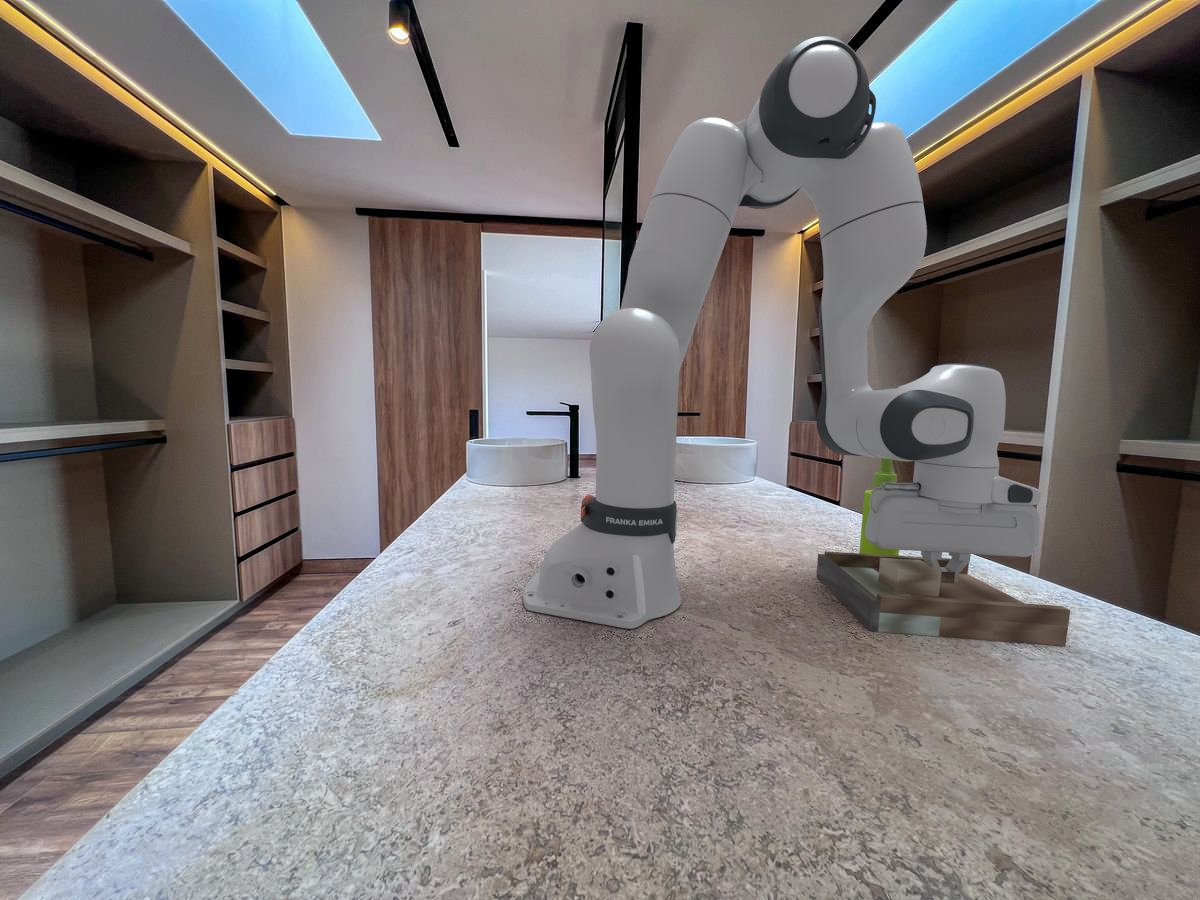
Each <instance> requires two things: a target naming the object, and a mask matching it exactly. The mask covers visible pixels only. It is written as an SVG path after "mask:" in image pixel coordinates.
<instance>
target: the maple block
mask: <svg viewBox="0 0 1200 900" xmlns="http://www.w3.org/2000/svg"><path fill="white" fill-rule="evenodd" d="M878 581H879V582H881V583H882V584H883V585H885V586H886V587H887V588H889V589H890V590H891V591H893V592H894V593H895V594H906V595H921V596H936V597H939V591H940V582H941V571H939V570H937V569H936V568H934V567H932V566H930V565H928V564H926V563H925V562H923V561H921V560H910V559H893V558H880V566H879V577H878Z"/></svg>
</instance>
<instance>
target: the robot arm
mask: <svg viewBox="0 0 1200 900" xmlns="http://www.w3.org/2000/svg"><path fill="white" fill-rule="evenodd" d="M870 105H871V108H870ZM870 109H871V111H870ZM876 109H877V99H876V94H874V92H873V91H872V90H871V89H870V83H869V77H868V73H867V71H866V69H865V66H864V64H863V62H862V60H861V59H860V56H859V55H858V54H857V53H856V51H855V50H854V49H853V48H852V47H851V46H850V45H849V44H847V43H846V42H844V41H843V40H841V39H839V38H837V37H833V36H827V35H824V36H823V35H822V36H816V37H811V38H809V39H806V40H803V41H802V42H801V43H799V44H798V45H796V46H794V48H792V49H791V50H790V51H789V52H788V53H787V54H786V55H785V56H784V57H783V58H782V59H781V60H780V61H779V63H778V64H777V65H776V66H775V68H773V70H772V72H771V73H770V74H769V75H768V77H767V80H766V81H765V83H764V85H763V88H762V90H761V93H760V96H759V97H758V98H757V100H756V103H754V105H753V108H752V110H751V112H750V114H749V115H748V117H747V118H746V119H742V120H741V121H738V122H731V121H730V120H727V119H723V118H720V117H715V116H711V117H704V118H700V119H697V120H695V121H693V122H691V123H690V124H689V125H687V127H686V128H685V129H684V130H682V133H681V134H680V135H679V137H678V138H677V140H676V142H675V144H674V146H673V147H672V149H671V152H670V154H669V156H668V157H667V159H666V161H665V163H664V166H663V168H662V170H661V173H660V174H659V177H658V179H657V182H656V184H655V187H654V190H653V193H652V195H651V198H650V201H649V204H648V207H647V210H646V213H645V214H644V215H645V216H644V219H643V221H642V224H641V227H640V231H639V234H638V236H637V240H636V242H635V244H634V248H633V252H632V253H631V257H630V260H629V262H628V263H629V264H628V270H627V277H626V281H625V282H626V283H625V286H624V291H623V297H622V301H621V306H620V309H619V310H616V311H614V312H612V313H610V314H608V315H607V316H605V317H604V319H602V321H601V322H599V323H598V325H597V326H596V328H595V330H594V332H593V333H592V336H591V340H590V344H589V364H590V376H591V377H590V381H591V393H592V394H591V397H592V398H591V399H592V409H593V420H594V422H593V423H594V430H595V444H596V449H595V450H596V455H595V457H596V459H595V460H596V461H595V462H596V463H595V495H593V494H587V495H585V496H584V497H583V499H582V500H581V505H580V524H578V525H577V526H576V527H574V528H573V529H571V530H570V531H568V532H567V533H566V534H565V535H563V536H562V537H560V538H559V539H557V540H556V541H555V542H554V543H552V545H550V546H549V548H548V549H547V551H546V553H545V555H544V557H543V560H542V563H541V568H540V571H539V572H536V573H535V574H534V575H533V576H532V577H531V578H530V579H529V581H528V582H527V583H526V586H525V588H524V590H523V595H522V596H523V597H522V603H523V606H524V608H525V609H526V610H527V611H529V612H536V613H541V614H545V615H550V616H551V615H552V616H556V617H563V618H567V619H572V620H573V619H574V620H577V621H579V620H580V621H584V622H590V623H594V624H600V625H606V626H611V627H618V628H622V629H630V630H631V629H635V628H639V627H640V626H642V625H644V624H645V623H647V622H648V621H650V620H653V619H657V618H660V617H663V616H664V617H665V616H667V615H669V614H672V613H674V611H676V610H678V608H679V607H680V606H681V604H682V601H683V599H682V594H681V591H680V587H679V582H678V577H677V569H676V568H677V567H676V559H675V558H676V557H675V549H674V547H675V544H674V543H675V541H676V537H677V530H678V509H677V508H678V507H677V506H678V505H677V502H676V501H675V481H676V480H675V479H676V478H675V477H676V461H677V460H676V458H677V457H676V454H677V453H676V452H677V431H678V429H677V428H678V409H679V408H678V406H679V405H678V404H679V385H680V384H679V383H680V382H679V381H680V370H681V367H682V364H683V362H684V359H685V357H686V354H687V351H688V348H689V345H690V342H691V339H692V336H693V334H694V331H695V328H696V325H697V323H698V319H699V317H700V314H701V311H702V308H703V306H704V303H705V300H706V296H707V294H708V291H709V288H710V286H711V282H712V280H713V278H714V275H715V272H716V269H717V267H718V264H719V261H720V259H721V256H722V253H723V250H724V248H725V245H726V242H727V240H728V237H729V234H730V231H731V229H732V226H733V223H734V220H735V217H736V214H737V211H738V208H739V207H747V208H750V209H756V210H767V209H772V208H776V207H778V206H781V205H782V204H784V203H785V202H787V201H789V200H790V199H791V198H792V197H794V196H795V195H796V194H797V193H798V192H799V190H801V191H802V192H804V193H805V194H806V196H807V197H808V198H809V199H810V200H811V202H812V204H813V206H814V209H815V211H816V214H817V218H818V219H817V221H818V229H819V235H820V237H819V238H820V244H821V251H822V264H823V284H822V285H823V286H822V293H821V298H820V303H819V309H818V310H819V313H818V327H819V328H818V332H819V334H818V335H819V351H820V354H819V355H820V375H821V397H820V401H819V406H818V410H817V417H816V430H817V433H818V437H819V438H820V440H821V442H822V444H824V446H825V447H826V448H827V449H829V450H830V451H832V452H833V453H836V454H837V455H840V456H852V457H854V456H856V457H857V456H858V457H870V458H875V459H891V460H893V461H900V462H914V466H913V468H914V469H913V476H912V477H913V479H912V482H897V483H893V482H885V483H883V484H882V485H879V486H877V487H876V488H874V489H873V488H872V489H871V490H872V492H871V496H870V511H869V514H868V519H867V523H866V529H865V536H866V538H867V539H868V541H869V542H870V543H872V544H873V545H875V546H876V547H878V548H881V549H894V550H899V551H911V552H912V551H915V552H920V554H921V557H923V559H924V560H925V562H926V564H928V565H930V566H932V567H934V568H936V569H937V570H939V571H941V582H940V583H953V584H957V583H958V578H959V572H961V571H962V570H963V569H964V567H965V566H966V565H967V564H968V563H969V564H970V562H971V555H983V556H984V555H986V556H1001V557H1023V558H1028V557H1030V556H1031V555H1033V554H1034V553H1035V552H1036V551H1037V549H1038V547H1039V540H1040V535H1041V534H1040V532H1041V517H1040V513H1039V510H1038V508H1036V507H1035V505H1038V504H1039V503H1040V501H1041V498H1042V497H1041V496H1042V492H1041V490H1040V489H1038V488H1036V487H1033V486H1031V485H1027V484H1024V483H1021V482H1018V481H1016V480H1015V481H1014V480H1011V479H1009V478H1006V477H1002V476H1000V475H999V471H1000V460H999V457H998V446H999V444H1000V443H999V442H1000V441H1001V439H1002V437H1003V435H1004V432H1005V431H1004V429H1005V422H1006V406H1007V404H1006V403H1007V401H1006V400H1007V398H1006V397H1007V396H1006V387H1005V382H1004V381H1005V380H1004V379H1003V376H1002V374H1001V373H1000V371H998V370H996V369H995V368H992V367H990V366H986V365H982V364H975V363H961V362H960V363H959V362H958V363H957V362H954V363H953V362H952V363H943V364H938V365H935V366H933V367H932V368H930V370H929V372H928V373H926V374H924V375H923V376H921V377H920V378H917V379H914V380H913V381H911V382H908V383H906V384H903V385H900V386H899V385H898V386H897V388H886V389H876V390H874V389H872V387H871V385H870V384H869V380H868V377H869V376H868V374H869V373H868V342H867V341H868V339H867V338H868V331H869V327H870V324H871V321H872V320H873V318H874V316H875V314H877V312H878V311H879V309H880V308H881V307H882V306H883V305H884V304H885V303H886V302H887V300H889V299H890V298H891V297H892V296H893V295H894V294H896V292H898V291H899V290H900V289H901V288H902V287H903V286H905V284H907V282H908V281H909V280H910V279H911V277H912V276H913V275H914V274H915V273H916V271H917V269H918V268H919V266H920V264H921V263H922V261H923V259H924V257H925V252H926V246H927V237H928V236H927V235H928V229H927V227H928V225H927V220H926V219H927V218H926V213H925V207H924V199H923V192H922V186H921V182H920V177H919V172H918V169H917V166H916V162H915V159H914V156H913V152H912V150H911V147H910V144H909V142H908V139H907V138H906V134H905V132H904V130H903V129H901V128H900V126H898V125H897V124H895V123H893V122H890V121H889V122H888V121H875V122H874V120H875V115H876ZM869 112H871V113H869ZM880 488H883V489H884V490H881V489H880ZM943 553H947V554H948V556H949V557H951V558H949V559H950V561H949V562H948V564H947V565H946V567H940V566H939V563H938V561H937V559H941V558H943Z"/></svg>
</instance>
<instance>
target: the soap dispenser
mask: <svg viewBox="0 0 1200 900" xmlns="http://www.w3.org/2000/svg"><path fill="white" fill-rule="evenodd" d="M880 459H881V458H880ZM893 462H894V460H891V459H881V461H880V470H878V471H876V472H874V473H873V475H874V476H873V485H872V489H867V490H864V492H863V493H864V494H863V495H864V496H863V497H864V498H863V503H862V504H863V506H862V515H861V529H860V530H861V531H860V539H859V540H860V542H859V552H858V553H862V554H879V555H896V556H900V555H899V554H900V553H899V552H900V550H894V549H881V548H878V547H876V546H875V545H873V544H872V543H870V542H869V541H868V539H867V538H866V536H865V529H866V523H867V519H868V514H869V511H870V496H871V492H872V490H873V489H874V488H876V487H877V486H879V485H882V484H883V483H885V482H893V483H898V482H897V481H898V474H897V473H895V472H894V471H893V464H894V463H893ZM880 489H881V490H884V489H883V488H880Z"/></svg>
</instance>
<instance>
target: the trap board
mask: <svg viewBox="0 0 1200 900" xmlns="http://www.w3.org/2000/svg"><path fill="white" fill-rule="evenodd" d="M880 558H893V559H910V560H921V561H923V562H925V560H924V559H923V557H922V556H913V555H912V556H911V555H898V556H896V555H879V554H862V553H859V552H842V551H841V552H840V551H824V553H823V554H821V553H818V554H817V564H816V565H817V566H816V577H817V578H818V579H819V580H820V581H821V582H820V581H819V580H818V579H817V578H816V577H815V578H816V579H817V580H818V581H819V582H820V583H821V584H822V585H823V586H824V587H825V588H826V589H827V590H828V591H829V592H830V593H831V594H832V595H833V596H834V597H835V598H836V599H837V600H838V601H839V602H840V603H841V604H842V605H843V606H844V607H845V608H846V609H847V610H848V611H849V612H850V613H851V614H852V615H853V616H854V617H855V618H856V619H857V620H858V621H859V622H860V623H861V624H862V625H863V626H864V627H865V629H867V630H868V631H869V632H876V633H889V634H902V635H904V634H905V635H915V636H929V637H941V638H942V637H945V638H954V639H955V638H956V639H969V640H981V641H983V640H984V641H992V642H993V641H995V642H1006V643H1008V642H1009V643H1020V644H1021V643H1022V644H1034V645H1035V644H1036V645H1046V646H1047V645H1048V646H1062V647H1066V645H1067V638H1068V630H1069V624H1070V618H1071V617H1070V615H1071V609H1070V608H1067V607H1066V606H1063V605H1054V604H1053V605H1052V604H1051V605H1050V604H1036V603H1034V604H1033V603H1025V602H1023V601H1021V600H1018V599H1017V598H1014V597H1013V596H1011V595H1009V594H1007V593H1005V592H1003V591H1002V590H1000V589H997V588H996V587H993V586H992V585H990V584H988V583H986V582H984V581H981V580H980V579H978V578H976V577H974V576H972V575H971V574H969V566H970V562H969V563H968V564H967V565H966V566H965V567H964V569H963V570H962V571H961V572H959V578H958V583H957V584H953V583H940V591H939V597H936V596H921V595H906V594H895V593H894V592H893V591H891V590H890V589H889V588H887V587H886V586H885V585H883V584H882V583H881V582H879V581H878V577H879V566H880ZM950 559H951V558H948V557H947V558H946V557H942V558H941V559H937V561H938V563H939V566H940V567H946V565H947V564H948V562H949V561H950ZM925 563H926V562H925Z"/></svg>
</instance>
